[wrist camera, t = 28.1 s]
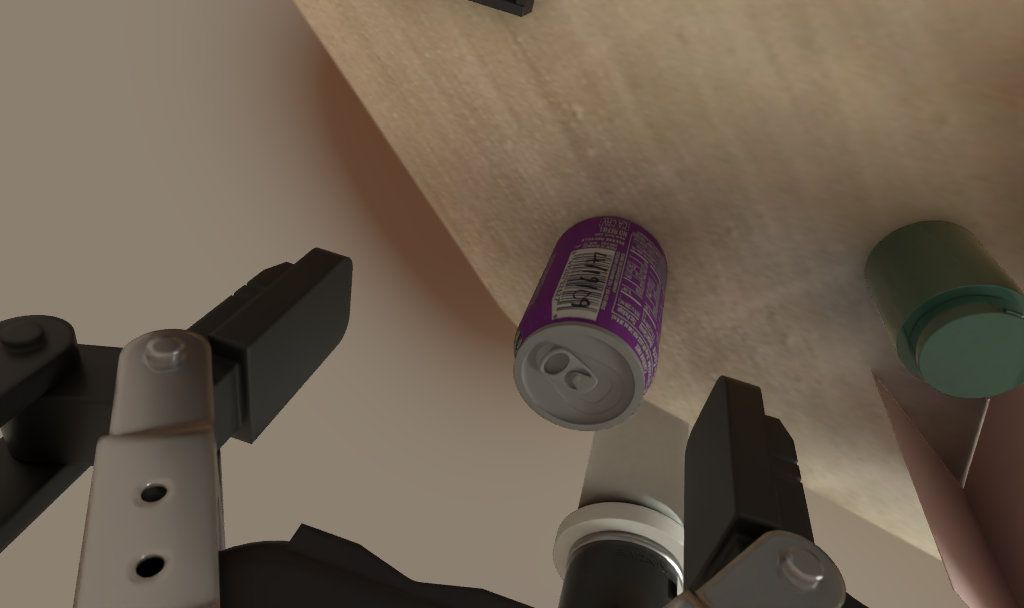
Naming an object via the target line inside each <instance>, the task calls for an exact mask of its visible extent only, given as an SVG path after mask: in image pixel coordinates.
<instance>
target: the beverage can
mask: <svg viewBox="0 0 1024 608" xmlns="http://www.w3.org/2000/svg"><path fill="white" fill-rule="evenodd" d="M666 278H667V263H666V259H665V255H664V253H663V250H662V248H661V247H660V245H659V243H658V242H657V240H656V239H655V238H654V237H653V236H652V235H651V234H650V233H649V232H648V231H647V230H645V229H644V228H643V227H641V226H639V225H638V224H636V223H634V222H631V221H629V220H626V219H623V218H618V217H609V216H602V217H594V218H590V219H586V220H584V221H581V222H579V223H577V224H575V225H574V226H572V227H571V228H569V229H568V230H567V231H566V232H565V233H564V234H563V235H562V236H561V238H560V239H559V240H558V242H557V244H556V246H555V248H554V250H553V252H552V255H551V257H550V259H549V261H548V263H547V266H546V268H545V270H544V272H543V274H542V276H541V279H540V281H539V283H538V285H537V287H536V290H535V292H534V294H533V296H532V298H531V301H530V303H529V305H528V307H527V309H526V311H525V314H524V316H523V318H522V320H521V322H520V325H519V327H518V330H517V332H516V336H515V340H514V356H515V361H514V370H513V371H514V379H515V383H516V386H517V389H518V391H519V393H520V395H521V396H522V398H523V399H524V401H525V402H526V403H527V404H528V406H529V407H530V408H531V409H532V410H534V411H535V412H536V413H537V414H538V415H540V416H541V417H543V418H544V419H546V420H548V421H550V422H552V423H554V424H556V425H559V426H561V427H564V428H568V429H573V430H579V431H597V430H604V429H608V428H611V427H614V426H616V425H618V424H620V423H622V422H624V421H625V420H627V419H628V418H629V417H630V416H631V415H632V414H633V413H634V412H635V411H636V410H637V408H638V407H639V405H640V403H641V400H642V398H643V396H644V394H645V393H646V392H647V391H648V389H649V388H650V386H651V384H652V382H653V380H654V377H655V374H656V370H657V363H658V354H659V344H660V335H661V326H662V316H663V307H664V297H665V288H666Z"/></svg>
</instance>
